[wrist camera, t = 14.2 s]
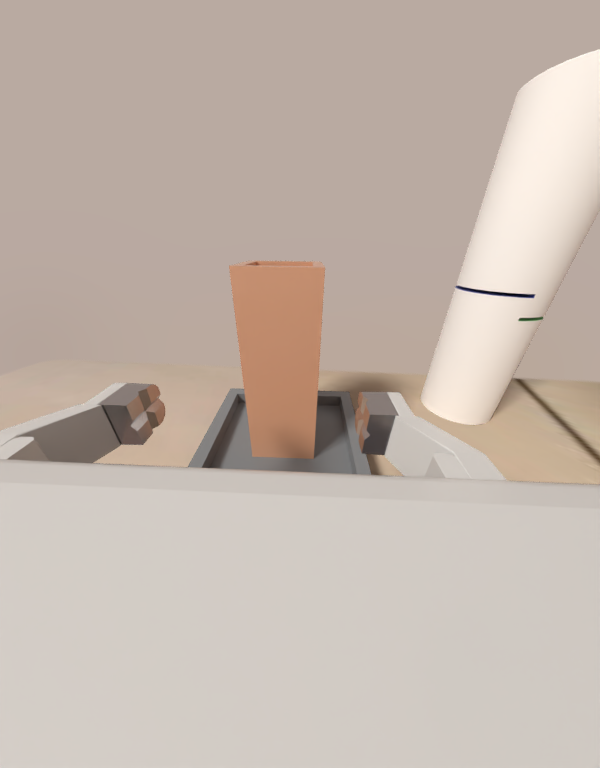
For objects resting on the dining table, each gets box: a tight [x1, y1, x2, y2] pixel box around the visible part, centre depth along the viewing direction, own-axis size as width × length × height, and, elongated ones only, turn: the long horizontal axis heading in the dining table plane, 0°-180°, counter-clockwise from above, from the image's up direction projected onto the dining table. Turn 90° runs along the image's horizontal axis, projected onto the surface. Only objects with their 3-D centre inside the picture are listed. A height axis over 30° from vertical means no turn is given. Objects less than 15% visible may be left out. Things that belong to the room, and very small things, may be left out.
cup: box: [229, 261, 325, 459], centre depth 18 cm, size 5×5×14 cm
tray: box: [188, 389, 371, 475], centre depth 22 cm, size 13×12×2 cm
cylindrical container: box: [421, 49, 600, 425], centre depth 21 cm, size 7×7×25 cm
